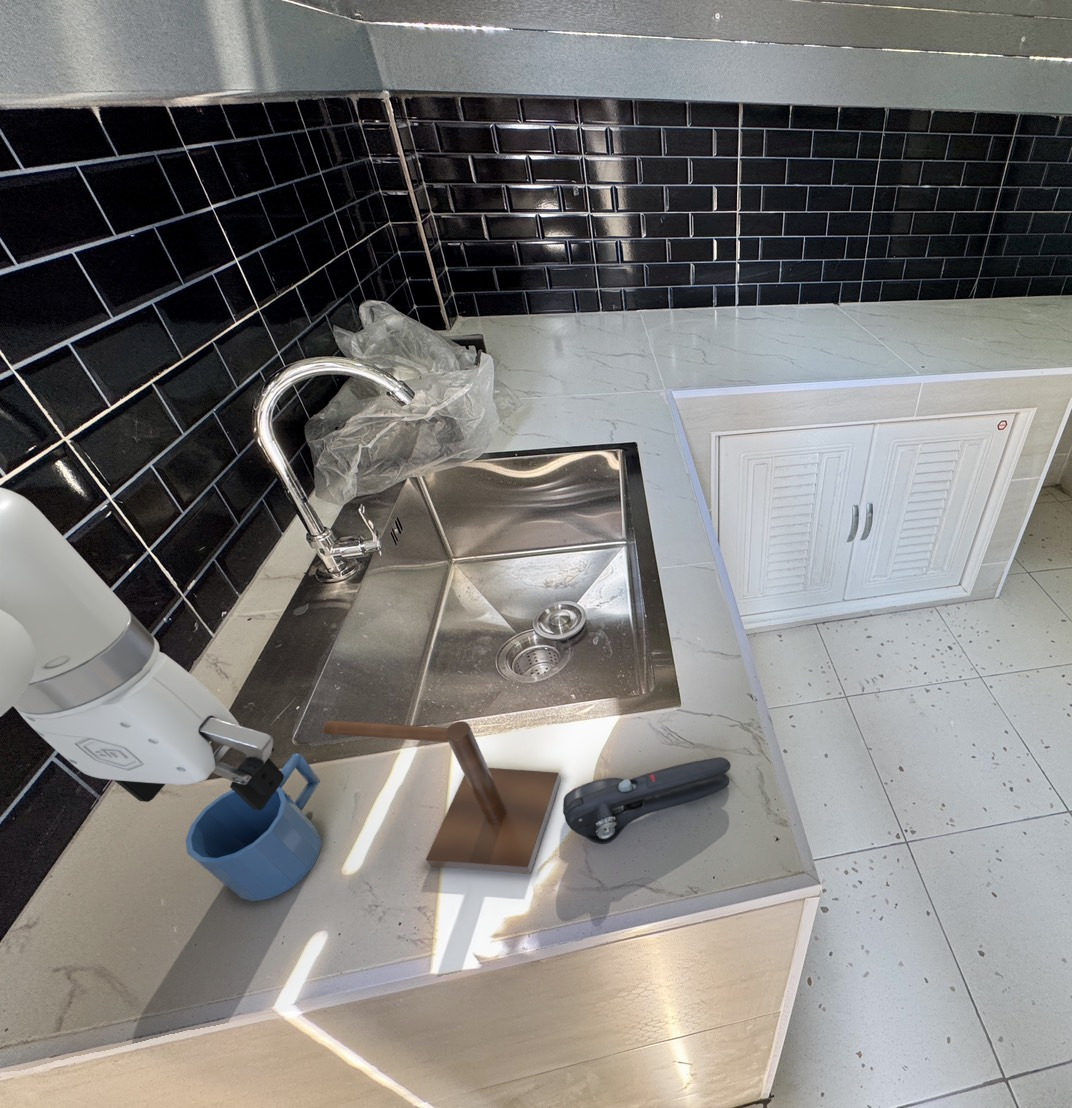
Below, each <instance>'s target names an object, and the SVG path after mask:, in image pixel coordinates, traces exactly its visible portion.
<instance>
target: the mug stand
mask: <svg viewBox="0 0 1072 1108" xmlns="http://www.w3.org/2000/svg"><path fill="white" fill-rule="evenodd" d="M322 731H323V733H324V734H325V735H333V736H335V735H336V736H347V737H348V736H350V737H363V738H364V737H365V738H378V739H392V740H393V739H395V740H408V741H421V742H437V743H448V744H449V746H450V749H451V750H452V752H453V755H454V756H455V758H456V760H457V762H458V764H459V766H460V768H461V771H462V772H463V774H464V775H463V777H462V779H461V782H460V784H459V786H458V788H457V790H456V793H455V795H454V797H453V799H452V802H451V803H450V806H449V807H448V810H447V812H446V814H445V816H444V819H443V821H442V823H441V825H440V827H439V829H438V832H437V834H436V836H435V839H434V841H433V842H432V845H431V847H430V849H429V851H428V854H427V856H426V858H425V861H426V862H427V863H428V865H429V867H432V868H433V867H435V868H445V869H446V868H447V869H459V870H474V871H487V872H502V873H512V874H513V873H515V874H526V875H531V874H532V871H533V868H534V864H535V862H536V858H537V855H538V853H539V849H540V847H541V844H542V843H541V842H542V840H543V836H544V834H545V831H546V827H547V824H548V821H549V818H550V815H551V812H552V809H553V806H554V802H555V799H556V796H557V794H558V793H557V792H558V790H559V786H560V784H561V776H560V773H559V771H558V772H556V771H541V770H529V769H527V770H526V769H513V768H499V767H488V764H487V761H486V759H485V757H484V755H483V753H482V751H481V748H480V746H479V744H478V742H477V740H476V738H475V735H474V733H473V730H472V728H471V725H470V724H469V723H468V722H467V721H462V720H461V721H460V720H459V721H456V722H453V723H451V724H450V725H449V726H448V727H441V726H439V727H438V726H426V725H424V726H423V725H409V724H397V723H395V724H394V723H382V722H381V723H380V722H365V721H351V720H350V721H349V720H337V719H336V720H335V719H329V720H326V721H325V723H324V725H323V730H322Z"/></svg>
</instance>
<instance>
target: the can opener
mask: <svg viewBox="0 0 1072 1108" xmlns="http://www.w3.org/2000/svg"><path fill="white" fill-rule="evenodd" d="M731 766H732V765H731V762H730V761H729V760H728V759H727V758H725V757H721V756H720V757H719V756H718V757H712V758H706V759H700V760H695V761H690V762H685V763H681V764H677V765H673V766H669V767H665V768H662V769H658V770H655V771H652V772H648V773H645V774H642V775H638V776H635V777H632V778H630V779H629V778H625V779H624V778H620V777H607V778H601V779H597V780H593V781H590V782H587V783H585V784H581V785H579V786H576V787H575V788H573V789H572V790H570V791H568V792H567V793H566V794H565V795H564V797H563V803H562V806H563V807H562V814H563V816H564V820H565V822H566V824H567V826H568V827H569V828H570V830H572V831H573V832H574V833H576V834H578V835H580V836H583V837H584V838H585V839H587V840H588V841H590V842H593V843H595V844H597V845H598V844H599V845H607V844H609V843H612V842H613V841H615V840H616V838H618V837H619V835H620V834H621V833H622V831H624V829H625V827H626V826H627V825H629V824H630V823H632V822H633V821H635V820H638V819H639V818H641V817H643V816H645V815H649V814H651V813H654V812H659V811H661V810H666V809H670V808H673V807H677V806H681V805H685V804H688V803H690V802H691V803H692V802H694V801H697V800H700V799H702V798H703V799H704V798H706V797H708V796H711V795H713V794H715V793H718V792H720V791H723V790H725V789H726V788H728V786H729V784H730V777H729V776H728V775H727V774H726V773H727V772H729V771H730V770H731Z"/></svg>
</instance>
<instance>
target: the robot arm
mask: <svg viewBox="0 0 1072 1108" xmlns="http://www.w3.org/2000/svg"><path fill="white" fill-rule="evenodd" d="M12 707H13V708H14V709H15V710H16V711H17V712H18V714H19V715H20V716H21V717H22V718H23V720H24V721H25V722H26V723H27V724H28V725H29V726H30V727H31V728H32V729H33V730H34V731H35V732H36V733H37V734H38V735H39V736H40V737H41V738H42V739H43V740H44V741H45V742H46V743H47V744H49V745H50V746H51V747H52V748H53V749H54V750H55V752H58V753H59V754H60V756H62V757H63V758H64V759H65V760H67V761H68V762H69V763H70V764H71V765H72V766H73V767H74V768H76V769H77V770H79V771H80V772H82V774H84V775H86V776H90V777H92V778H96V779H100V780H101V779H103V780H109V781H110V780H111V781H114V782H115V783H116V784H118V785H119V786H120V787H121V788H122V789H124V790H125V791H126V792H127V793H129V794H130V795H131V796H132V797H134V799H136V800H138V801H139V802H143V803H144V802H145V803H149V802H150V801H153V799H155V797H156V796H158V794H159V793H160V791H161V790H162V789H164V787H165V786H166V785H181V786H182V785H183V786H184V785H185V786H186V785H194V784H198V783H202V782H205V781H206V780H208V778H210V775H211V774H214V775H217V776H219V777H221V778H223V779H226V780H228V781H230V782H231V783H230V786H229V788H230V790H234V791H235V792H236V793H237V794H238V795H239V796H240V797H241V798H242V799H243V800H244V801H245V802H246V803H247V804H248V805H249V806H250V807H251V808H252V809H253V810H262V809H263V808H264V807H265V805H266V804H267V802H268V801H269V799H270V798H271V796H272V795H273V794H274V793H275V791H276V790H277V789H278V787H279V785H280V783H281V782H282V781H283V778H284V775H283V773H282V772H281V771H280V770H281V769H280V768H278V766H277V765H276V764H275V763H274V762H273V760H271V758H270V757H271V755H272V754H273V753H274V752H275V748H274V737H273V736H272V735H270V734H268V733H265V732H262V731H259V730H255V729H252V728H249V727H245V726H241V725H240V723H239V722H238V720H237V719H236V717H234V715H233V714H232V713H231V712H230V710H229V709H228V708H227V707H226V706H225V705H224V704H223V703H222V701H220V700H219V699H218V698H217V697H216V696H215V695H214V694H213V693H212V692H211V691H210V690H209V689H208V688H207V687H205V685H204V684H202V683H201V682H200V681H199V680H198V679H197V678H196V677H194V676H193V674H191V673H190V672H189V671H187V670H186V669H185V668H184V667H182V666H181V665H180V664H179V663H177V662H176V661H175V660H174V659H172V658H171V657H170V656H168V655H167V654H166V653H164V652H161V651H160V644H159V642H158V640H157V639H156V638H155V636H153V635H152V634H151V633H150V632H149V630H148V629H147V628H146V627H145V626H144V625H143V623H141V621H140V620H139V619H138V618H137V617H136V616H135V615H134V614H133V612H131V611H130V609H129V608H128V607H127V606H126V605H125V604H124V602H123V601H122V600H121V599H120V598H119V597H118V596H117V595H116V593H115V592H113V590H112V589H111V588H110V587H109V586H108V585H107V584H106V583H105V581H104V580H103V579H102V578H101V577H100V576H99V575H98V574H97V573H96V571H95V570H94V569H93V568H92V567H91V566H90V565H89V563H88V562H87V561H86V560H85V559H84V558H83V557H82V555H80V553H79V552H78V551H77V550H76V549H75V548H74V547H73V546H72V545H71V544H70V542H68V540H67V539H66V537H64V536H63V535H62V533H60V532H59V530H58V529H57V528H56V527H55V525H53V524H52V523H51V521H50V520H49V519H48V518H47V517H46V515H44V513H42V511H41V510H40V509H39V508H38V507H37V506H35V505H34V504H33V502H31V501H30V500H29V499H28V498H26V497H25V496H23V495H21V494H19V493H17V492H15V491H13V490H11V489H7V488H4V487H0V718H1V717H2V716H4V715H5V714H6V713H7V712H8V711H9V710H10V709H11V708H12ZM210 742H211V743H214V744H218V745H219V746H218V748H217V749H216V750H215V751H214V750H213V747H212V745H211V744H210ZM230 749H234V750H237V751H239V752H241V753H242V754H243V753H244V754H245V757H244V759H243V760H242V762H241V763H240V764H239V765H238V767H235V766H233V765H231V764H228V763H225V762H223V761H222V760H223V759H224V757H225V756H226V754H227V753H228V752H229V751H230Z"/></svg>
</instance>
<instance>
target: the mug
mask: <svg viewBox="0 0 1072 1108" xmlns="http://www.w3.org/2000/svg"><path fill="white" fill-rule="evenodd" d="M279 770H280V771H281V772H282V773H283V775H284V778H283V781H282V782H281V783H280V785H279V787H278V789H277V790H276V791H275V793H274V794H273V795H272V796H271V798H270V799H269V801H268V802H267V804H266V805H265V807H264V808H263V809H262V810H253V809H252V808H251V807H250V806H249V805H248V804H247V803H246V802H245V801H244V800H243V799H242V798H241V797H240V796H239V795H238V794H237V793H236V792H235V791H234V790H232V789H230V790H228V791H227V792H225V793H223V794H221V795H219V796H218V797H217V798H215V799H214V800H213V801H212V802H210V803H209V804H208V805H206V807H204V808H203V809H202V811H201V812H200V813H199V814H198V815H197V816H196V818H195V819H194V820H193V821H192V823H191V825H190V826H189V829H188V832H187V835H186V837H185V846H186V853H187V855H188V856H189V857H191V858H192V859H193V860H195V861H196V862H197V863H198V864H199V865H200V866H202V868H204V870H206V871H208V872H209V873H210V874H211V875H212V876H214V877H215V878H216V879H217V880H219V882H221V883H222V884H223V885H224V886H226V887H227V888H228V889H229V890H230V891H232V892H233V894H235V895H237V896H238V897H239V898H241V899H243V900H246V901H250V902H259V901H265V900H269V899H273V898H275V897H277V896H279V895H281V894H283V893H285V892H287V891H288V890H290V889H292V888H293V887H294V886H296V885H297V884H298V883H299V882H300V881H301V880H302V879H303V878H305V877H306V875H307V874H308V873H309V872H310V870H312V868H313V866H314V865H315V863H316V862H317V860H318V857H319V855H320V852H321V849H322V848H321V847H322V838H321V834H320V832H319V831H318V830H317V827H316V826H315V825H314V824H313V822H312V821H311V820H310V819H309V817H307V816H306V815H305V814H304V812H303V810H304V808H305V807H306V805H307V803H308V802H309V800H310V799H311V797H312V795H313V794H314V792H315V791H316V789H317V788H318V786H319V785H320V783H321V779H320V777H319V776H318V775H317V773H316V771H314V769H313V768H312V767H311V766H310V764H309V763H308V762H307V760H306V759H305V758H304V757H303V755H302V754H301V753H299V752H295V753H292V754H291V755H290V757H289V758H288V759H287V761H286V762H285V763H284V764H283V766H282V767H281V769H279ZM295 770H296V771H297V772H298V773H299V774H300V776H301V777H302V778H303V779H304V781H305V782H306V784H305V786H304V788H303V789H302V790H301V791H300V794H299V795H298V797H297V798H296V799H295V800H294V801H293V799H291V797H290V796H289V795H288V794H287V792H285V790H284V789H283V787H284V786H285V784H286V782H287V781H288V779H289V778H290V777H291V775H292V774H293V772H294V771H295Z"/></svg>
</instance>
